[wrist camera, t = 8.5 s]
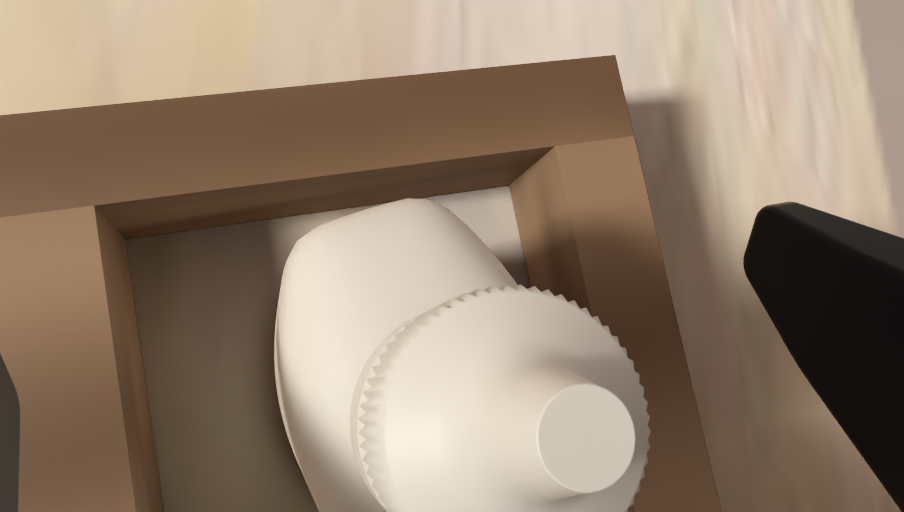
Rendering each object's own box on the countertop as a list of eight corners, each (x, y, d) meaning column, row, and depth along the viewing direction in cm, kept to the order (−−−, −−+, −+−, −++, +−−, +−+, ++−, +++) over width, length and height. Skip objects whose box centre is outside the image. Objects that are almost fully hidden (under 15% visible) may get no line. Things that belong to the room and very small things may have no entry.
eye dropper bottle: (234, 530, 16) (137, 924, 4) (287, 260, 17) (331, -35, 5) (443, 555, 16) (858, 939, 5) (480, 296, 18) (885, 113, 6)
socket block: (674, 614, 17) (755, 658, 14) (101, 792, 14) (59, 894, 11) (562, 106, 19) (615, 55, 16) (22, 169, 16) (-33, 118, 13)
